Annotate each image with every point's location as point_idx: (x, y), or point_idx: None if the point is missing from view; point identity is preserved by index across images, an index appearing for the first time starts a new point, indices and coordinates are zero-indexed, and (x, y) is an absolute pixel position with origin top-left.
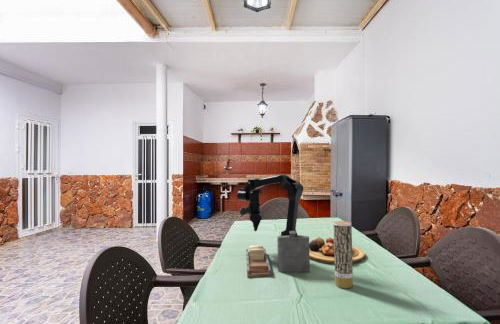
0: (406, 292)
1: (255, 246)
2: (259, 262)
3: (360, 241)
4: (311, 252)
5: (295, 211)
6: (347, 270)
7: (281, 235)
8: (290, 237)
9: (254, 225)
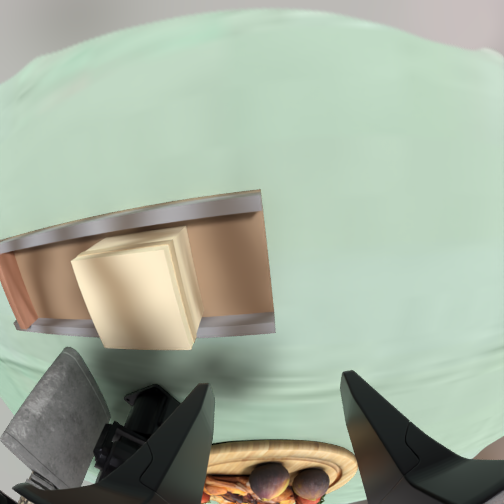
0: (93, 472)
1: (151, 300)
2: None
3: (357, 496)
4: (242, 461)
5: None
6: None
7: (103, 476)
8: (29, 467)
9: (151, 453)
